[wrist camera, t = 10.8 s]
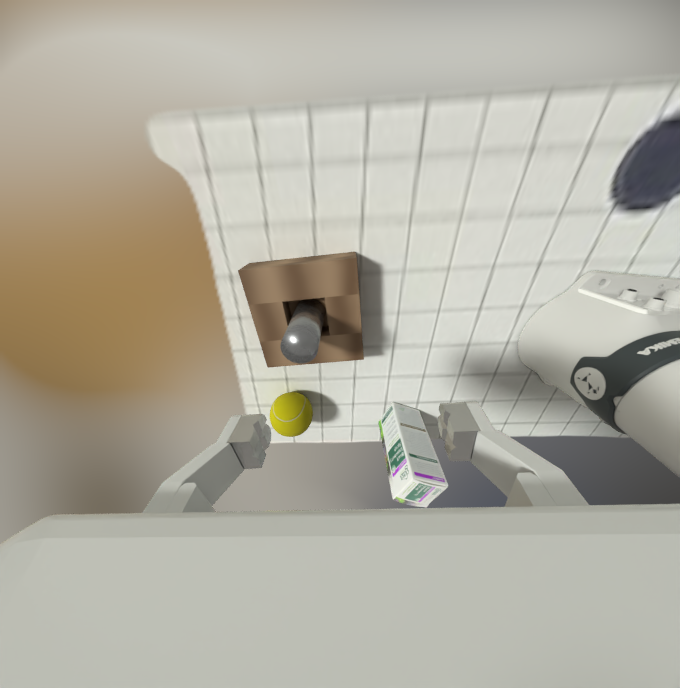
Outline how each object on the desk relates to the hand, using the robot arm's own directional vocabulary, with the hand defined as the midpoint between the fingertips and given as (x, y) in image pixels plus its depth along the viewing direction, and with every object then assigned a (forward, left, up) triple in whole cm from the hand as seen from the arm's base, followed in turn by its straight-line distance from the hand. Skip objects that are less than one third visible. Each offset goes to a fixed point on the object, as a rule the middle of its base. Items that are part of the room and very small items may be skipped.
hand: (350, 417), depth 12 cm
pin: (+5, +4, -24) cm, 25 cm away
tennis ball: (+11, +21, -26) cm, 35 cm away
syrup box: (-8, +27, -26) cm, 38 cm away
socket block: (+5, +4, -25) cm, 26 cm away
